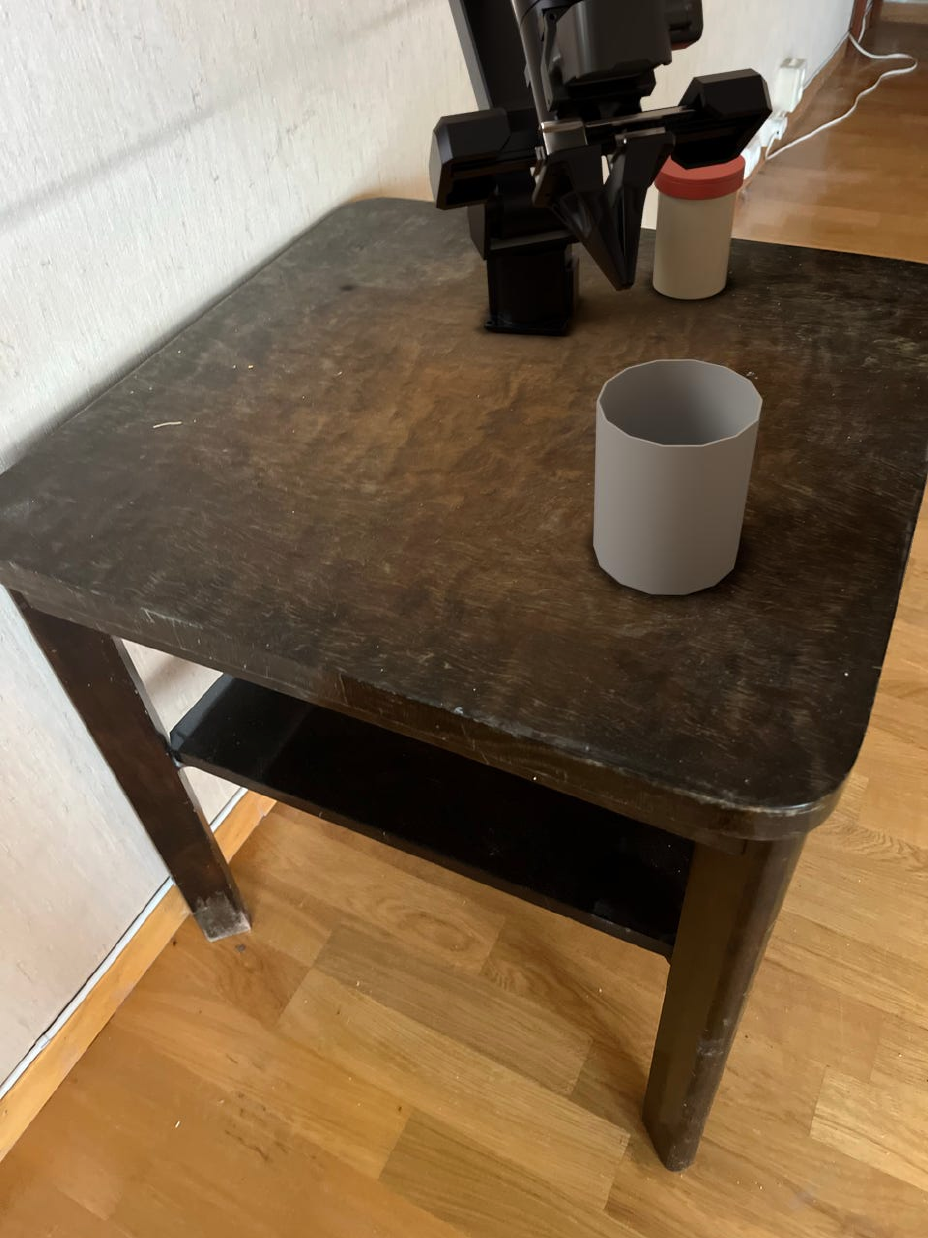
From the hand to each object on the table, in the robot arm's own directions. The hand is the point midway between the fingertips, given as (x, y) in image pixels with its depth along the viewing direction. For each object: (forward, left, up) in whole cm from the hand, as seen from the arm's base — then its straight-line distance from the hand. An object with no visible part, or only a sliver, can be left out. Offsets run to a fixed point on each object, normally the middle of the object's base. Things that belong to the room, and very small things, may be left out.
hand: (625, 287), depth 54 cm
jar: (+2, +26, -12) cm, 29 cm away
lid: (+2, +26, -3) cm, 27 cm away
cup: (+4, -8, -12) cm, 15 cm away
